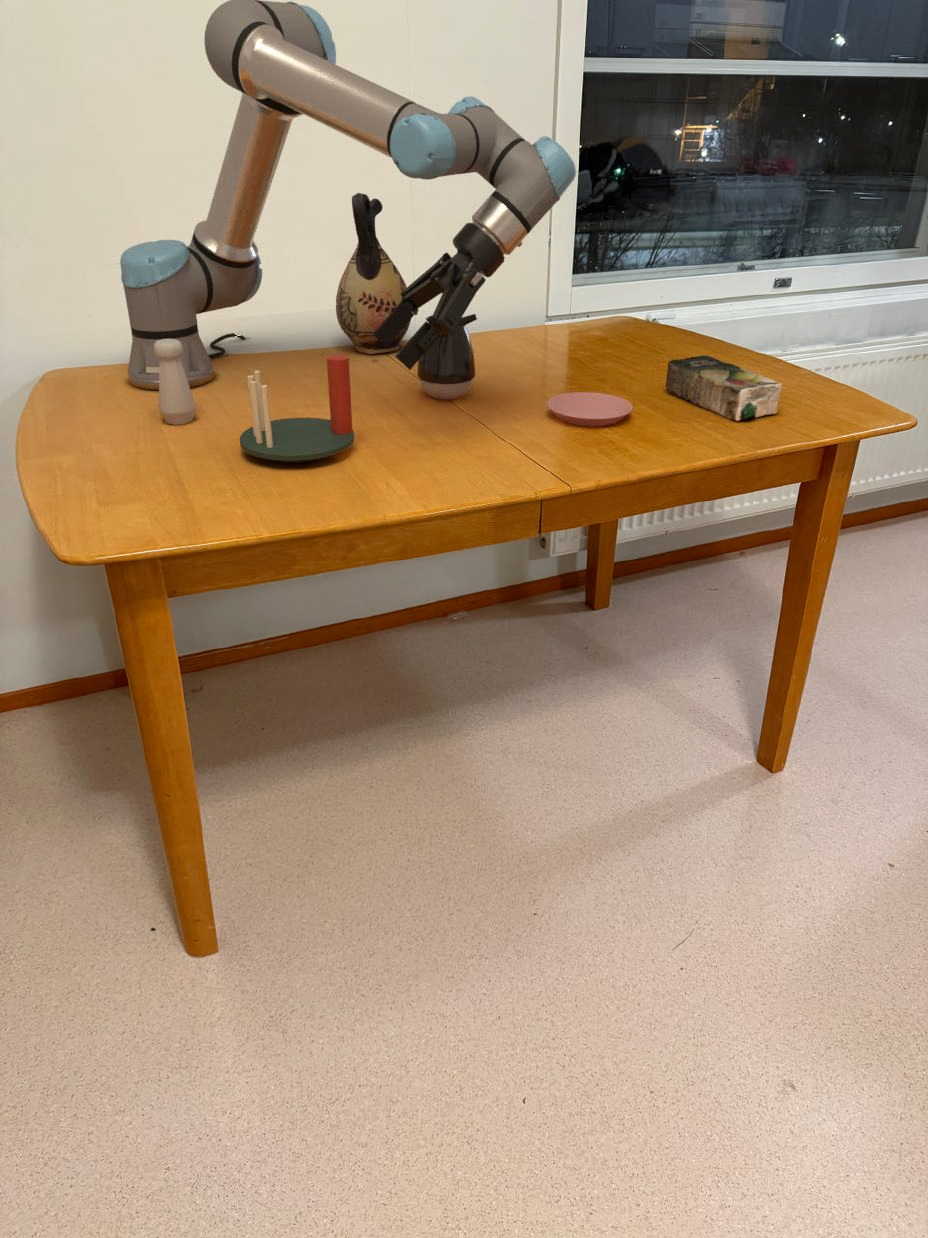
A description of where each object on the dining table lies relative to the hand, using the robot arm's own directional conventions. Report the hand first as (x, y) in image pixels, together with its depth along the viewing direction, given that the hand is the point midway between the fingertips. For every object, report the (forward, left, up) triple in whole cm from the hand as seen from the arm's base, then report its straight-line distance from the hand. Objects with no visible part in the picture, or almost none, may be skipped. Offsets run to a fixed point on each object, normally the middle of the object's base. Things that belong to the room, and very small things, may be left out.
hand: (390, 351), depth 136 cm
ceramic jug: (-56, +5, -14) cm, 58 cm away
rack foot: (+1, -15, -14) cm, 20 cm away
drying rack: (+1, -15, -14) cm, 20 cm away
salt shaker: (-17, -33, -14) cm, 39 cm away
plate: (-6, +34, -14) cm, 38 cm away
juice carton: (-8, +59, -14) cm, 61 cm away
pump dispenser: (-22, +13, -14) cm, 29 cm away
